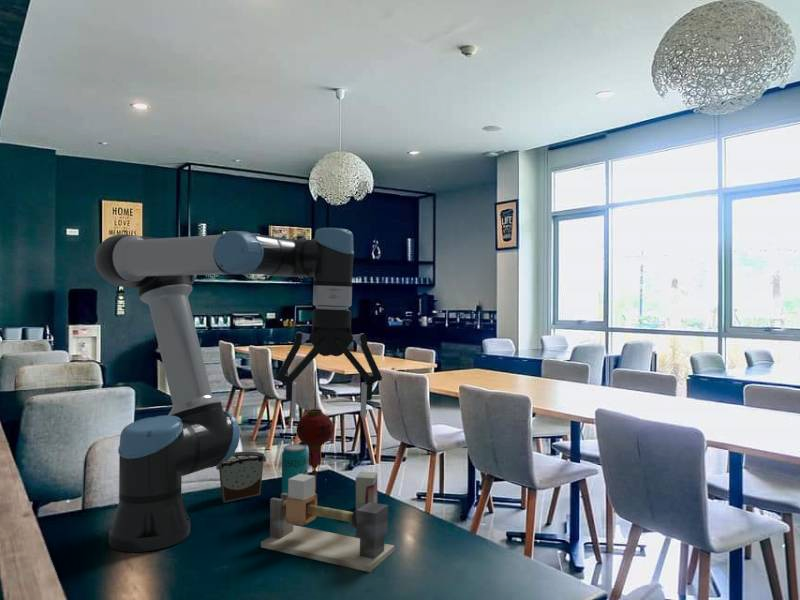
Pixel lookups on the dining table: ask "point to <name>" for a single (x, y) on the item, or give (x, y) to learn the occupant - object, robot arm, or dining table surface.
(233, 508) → the dining table surface
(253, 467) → the food container
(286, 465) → the beverage can
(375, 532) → the cord rig
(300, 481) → the two-tone block
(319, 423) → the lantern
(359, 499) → the small box
